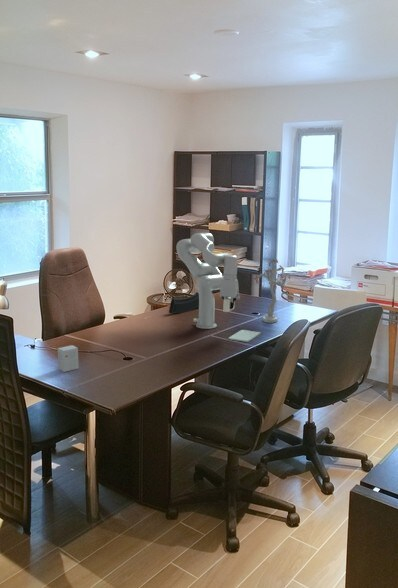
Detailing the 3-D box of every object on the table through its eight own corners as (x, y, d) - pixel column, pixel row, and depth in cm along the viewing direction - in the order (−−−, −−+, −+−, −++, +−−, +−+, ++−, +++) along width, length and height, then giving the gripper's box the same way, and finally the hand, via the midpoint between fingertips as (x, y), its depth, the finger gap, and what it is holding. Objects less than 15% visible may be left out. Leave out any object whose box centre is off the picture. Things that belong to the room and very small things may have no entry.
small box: (73, 365, 284) (72, 344, 282) (78, 368, 280) (78, 347, 278) (58, 369, 279) (57, 348, 277) (63, 372, 275) (63, 350, 273)
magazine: (169, 302, 382) (198, 283, 401) (166, 301, 384) (195, 282, 403) (174, 325, 389) (203, 305, 408) (171, 324, 391) (199, 304, 410)
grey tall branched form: (256, 313, 391) (258, 254, 383) (291, 316, 385) (294, 256, 377) (248, 324, 365) (250, 260, 357) (286, 327, 359) (288, 262, 351)
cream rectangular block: (223, 311, 335) (223, 299, 333) (230, 307, 343) (230, 296, 342) (227, 312, 333) (227, 300, 332) (234, 308, 342) (234, 296, 341)
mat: (228, 339, 331) (228, 337, 331) (241, 331, 349) (241, 329, 349) (247, 342, 326) (247, 340, 326) (260, 333, 344) (260, 332, 343)
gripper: (214, 276, 334) (213, 307, 338) (240, 279, 327) (239, 311, 331) (220, 274, 341) (219, 305, 345) (245, 277, 334) (244, 308, 338)
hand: (228, 307), depth 338 cm, fingers closed on cream rectangular block, 2 cm apart
